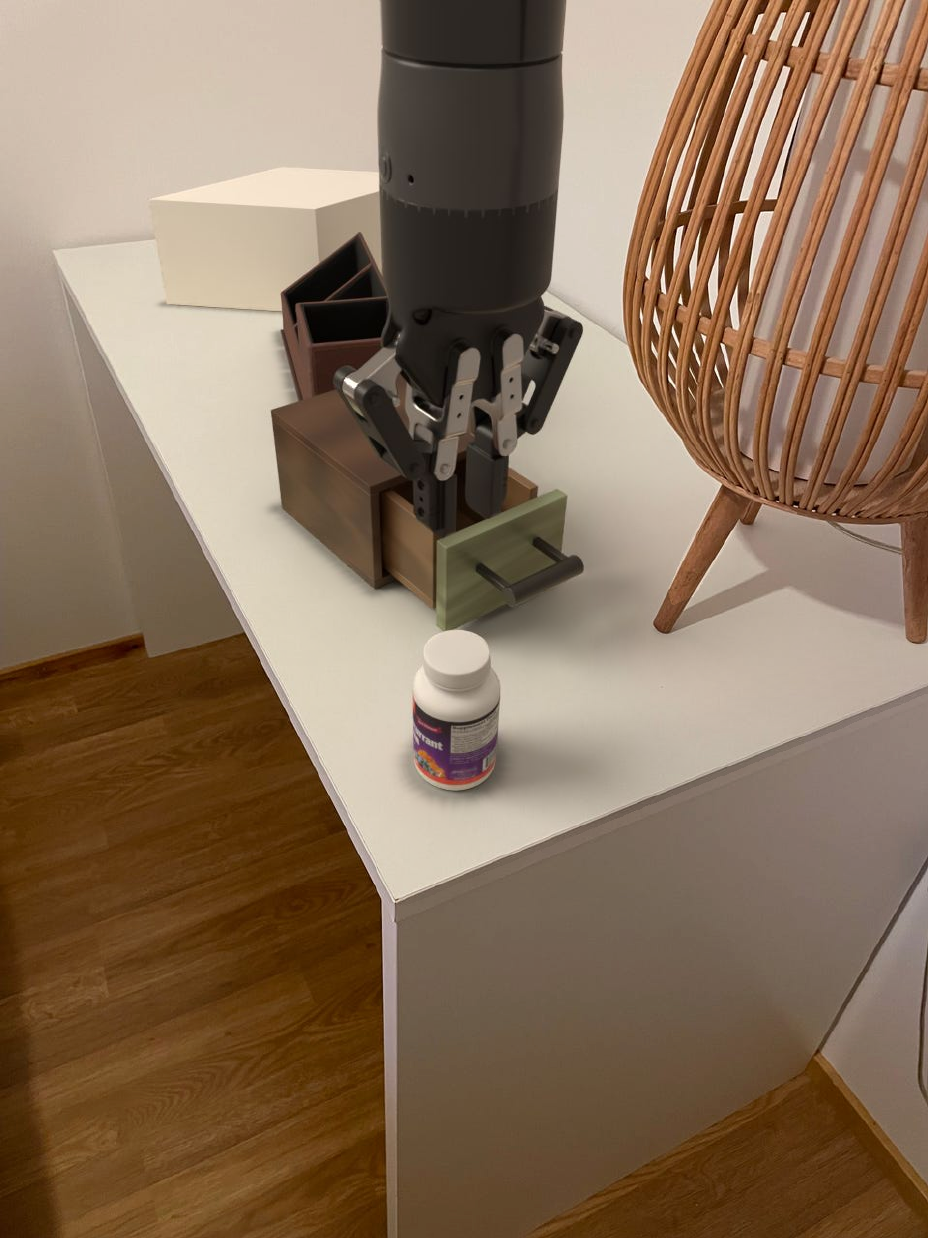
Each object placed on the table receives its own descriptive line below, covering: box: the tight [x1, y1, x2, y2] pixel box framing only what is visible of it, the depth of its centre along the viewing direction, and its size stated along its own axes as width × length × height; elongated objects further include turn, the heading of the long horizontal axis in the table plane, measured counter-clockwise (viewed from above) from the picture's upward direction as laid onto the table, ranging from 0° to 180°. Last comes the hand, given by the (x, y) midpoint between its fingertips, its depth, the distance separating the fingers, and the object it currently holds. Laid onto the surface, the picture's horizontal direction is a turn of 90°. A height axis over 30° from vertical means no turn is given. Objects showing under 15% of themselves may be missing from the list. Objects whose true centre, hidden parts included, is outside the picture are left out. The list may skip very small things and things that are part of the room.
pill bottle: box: [411, 629, 501, 791], centre depth 61 cm, size 5×5×10 cm
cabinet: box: [270, 373, 474, 590], centre depth 82 cm, size 15×13×10 cm
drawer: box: [378, 459, 585, 632], centre depth 75 cm, size 18×11×8 cm, turn 38°
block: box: [148, 166, 382, 312], centre depth 121 cm, size 18×35×12 cm, turn 110°
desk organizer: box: [279, 232, 389, 402], centre depth 101 cm, size 10×29×11 cm, turn 14°
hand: (461, 518), depth 52 cm, fingers closed
